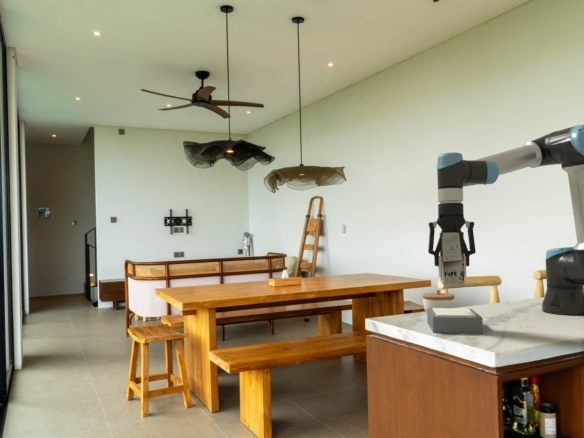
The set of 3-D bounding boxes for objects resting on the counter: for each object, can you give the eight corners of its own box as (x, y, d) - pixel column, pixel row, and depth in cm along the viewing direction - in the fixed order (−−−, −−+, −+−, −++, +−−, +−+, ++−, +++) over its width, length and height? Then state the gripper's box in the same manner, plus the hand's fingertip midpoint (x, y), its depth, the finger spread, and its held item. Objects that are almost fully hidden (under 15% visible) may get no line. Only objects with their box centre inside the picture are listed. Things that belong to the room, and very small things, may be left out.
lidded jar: (461, 318, 167) (460, 291, 167) (431, 320, 165) (431, 292, 165) (445, 313, 178) (444, 287, 178) (417, 315, 176) (417, 288, 176)
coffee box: (465, 285, 148) (464, 231, 148) (442, 285, 149) (441, 232, 149) (461, 282, 156) (460, 231, 157) (440, 282, 158) (439, 231, 158)
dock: (472, 323, 159) (471, 307, 159) (482, 333, 143) (482, 316, 143) (427, 322, 161) (427, 307, 162) (433, 332, 146) (432, 315, 146)
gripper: (480, 202, 155) (482, 275, 155) (417, 204, 159) (418, 275, 158) (486, 201, 148) (487, 278, 147) (419, 202, 151) (421, 278, 151)
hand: (452, 276), depth 153 cm, fingers closed on coffee box, 6 cm apart
